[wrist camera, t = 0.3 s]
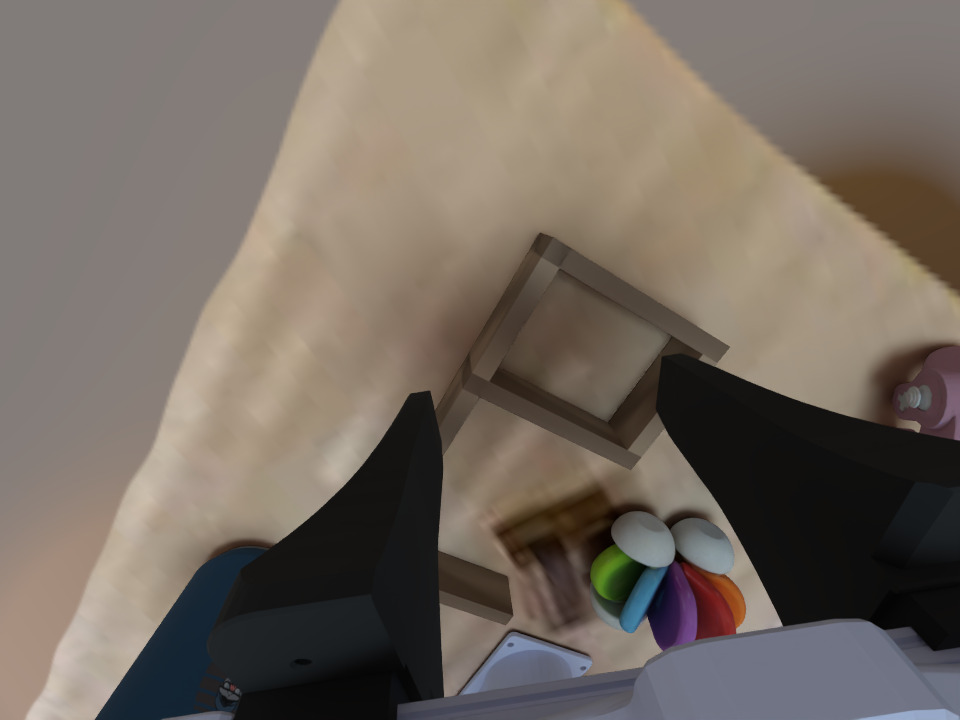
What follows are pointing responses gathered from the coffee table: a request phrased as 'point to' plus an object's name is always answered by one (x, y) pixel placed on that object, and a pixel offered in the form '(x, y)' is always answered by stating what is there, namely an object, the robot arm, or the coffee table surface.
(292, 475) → the coffee table surface
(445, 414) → the frame
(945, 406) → the pink toy vehicle
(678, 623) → the rainbow petal rattle
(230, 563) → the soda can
